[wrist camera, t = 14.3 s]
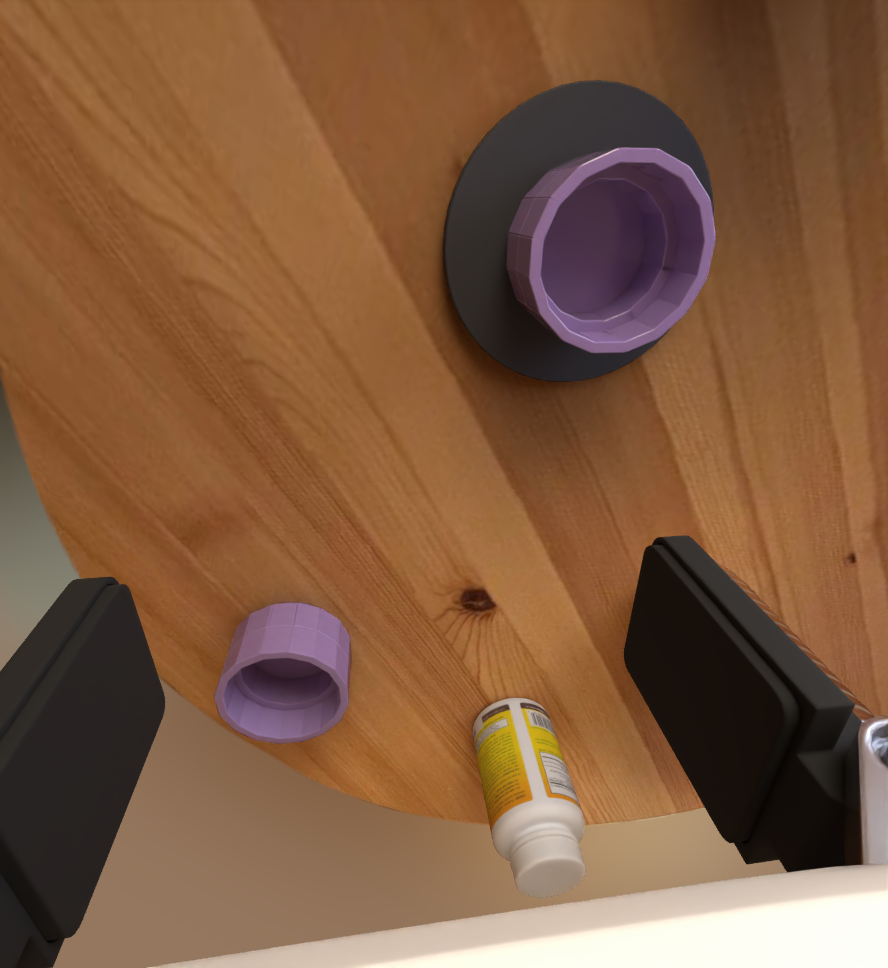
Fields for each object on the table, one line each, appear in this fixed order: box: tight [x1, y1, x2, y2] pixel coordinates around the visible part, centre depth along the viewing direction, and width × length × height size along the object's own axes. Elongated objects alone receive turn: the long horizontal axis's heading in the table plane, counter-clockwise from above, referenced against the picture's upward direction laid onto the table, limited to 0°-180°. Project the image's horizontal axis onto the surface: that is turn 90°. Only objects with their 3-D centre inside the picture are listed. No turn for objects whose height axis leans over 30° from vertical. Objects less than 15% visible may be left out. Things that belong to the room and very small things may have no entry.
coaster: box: [443, 80, 714, 382], centre depth 24 cm, size 12×12×1 cm
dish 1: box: [214, 602, 351, 744], centre depth 31 cm, size 7×7×4 cm
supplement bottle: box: [473, 698, 585, 897], centre depth 34 cm, size 6×6×10 cm
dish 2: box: [506, 147, 716, 353], centre depth 22 cm, size 7×7×4 cm
